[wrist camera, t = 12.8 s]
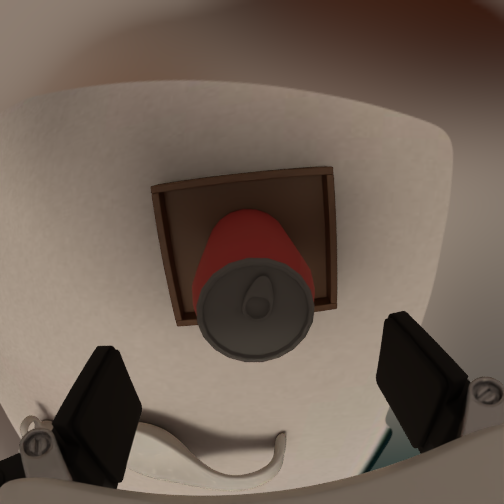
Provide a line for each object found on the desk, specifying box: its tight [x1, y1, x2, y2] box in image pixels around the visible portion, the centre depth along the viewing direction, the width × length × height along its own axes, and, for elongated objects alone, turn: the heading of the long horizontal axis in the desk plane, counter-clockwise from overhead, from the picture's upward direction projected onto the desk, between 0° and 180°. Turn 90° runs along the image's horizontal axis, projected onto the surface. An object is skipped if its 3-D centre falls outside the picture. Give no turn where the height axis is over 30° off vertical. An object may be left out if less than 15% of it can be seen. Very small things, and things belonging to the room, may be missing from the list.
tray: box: [151, 166, 337, 326], centre depth 25 cm, size 12×14×2 cm
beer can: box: [192, 209, 315, 362], centre depth 19 cm, size 7×7×12 cm
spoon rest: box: [126, 422, 286, 491], centre depth 29 cm, size 24×12×7 cm, turn 90°
